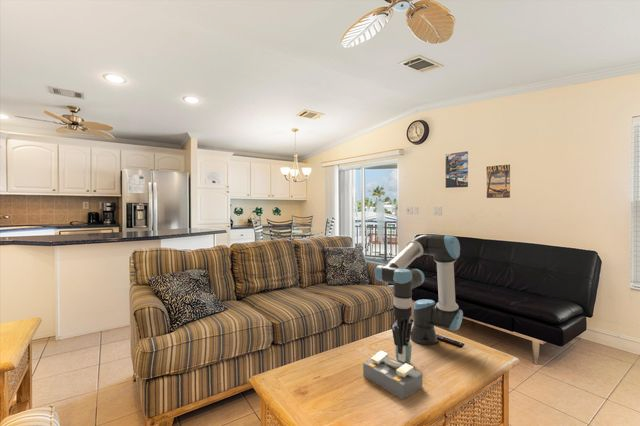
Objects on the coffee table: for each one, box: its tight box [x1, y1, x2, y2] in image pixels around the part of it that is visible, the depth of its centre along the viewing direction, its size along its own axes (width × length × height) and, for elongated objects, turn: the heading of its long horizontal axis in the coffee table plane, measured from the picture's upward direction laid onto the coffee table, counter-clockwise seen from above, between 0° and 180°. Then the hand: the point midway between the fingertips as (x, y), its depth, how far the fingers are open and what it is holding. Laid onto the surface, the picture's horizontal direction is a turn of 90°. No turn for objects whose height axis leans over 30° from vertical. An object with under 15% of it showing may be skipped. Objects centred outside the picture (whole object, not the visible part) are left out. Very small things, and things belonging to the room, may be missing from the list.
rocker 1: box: [370, 350, 389, 364], centre depth 143 cm, size 7×4×2 cm, turn 128°
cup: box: [395, 341, 413, 364], centre depth 155 cm, size 8×8×10 cm
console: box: [362, 356, 423, 400], centre depth 138 cm, size 14×22×7 cm, turn 39°
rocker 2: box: [385, 358, 401, 367], centre depth 139 cm, size 7×4×2 cm, turn 129°
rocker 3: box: [396, 363, 415, 377], centre depth 133 cm, size 7×4×2 cm, turn 128°
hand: (401, 360), depth 131 cm, fingers closed
